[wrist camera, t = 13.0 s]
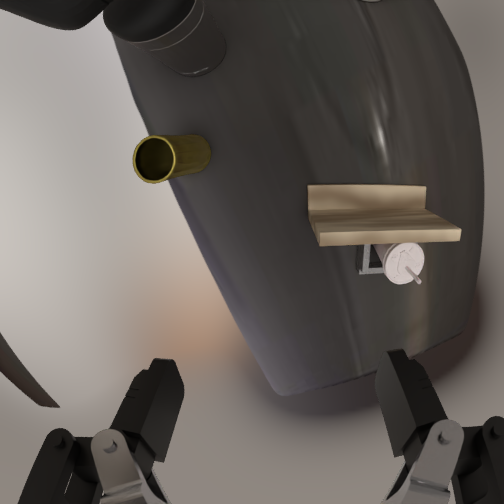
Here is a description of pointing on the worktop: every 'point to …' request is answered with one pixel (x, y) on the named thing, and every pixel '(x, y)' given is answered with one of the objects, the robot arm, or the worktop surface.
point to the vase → (170, 157)
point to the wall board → (374, 215)
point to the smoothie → (401, 261)
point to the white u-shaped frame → (367, 261)
